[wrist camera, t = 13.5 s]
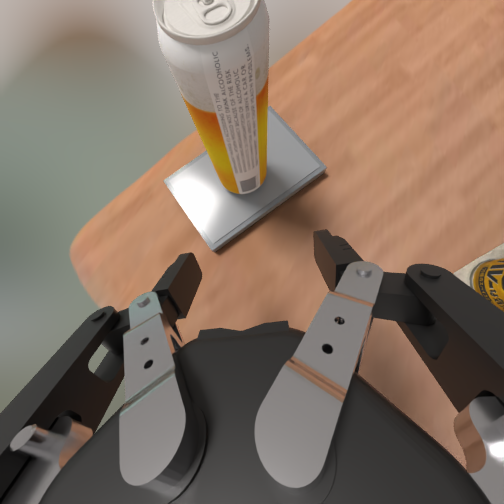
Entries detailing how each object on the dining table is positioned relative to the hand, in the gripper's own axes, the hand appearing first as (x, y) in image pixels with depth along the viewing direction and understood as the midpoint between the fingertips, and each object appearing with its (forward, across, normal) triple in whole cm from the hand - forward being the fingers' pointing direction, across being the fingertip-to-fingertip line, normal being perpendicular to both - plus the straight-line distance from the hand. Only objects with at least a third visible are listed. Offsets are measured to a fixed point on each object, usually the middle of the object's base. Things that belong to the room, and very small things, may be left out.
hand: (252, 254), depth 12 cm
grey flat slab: (+16, +1, -2) cm, 16 cm away
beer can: (+15, +1, -3) cm, 15 cm away
